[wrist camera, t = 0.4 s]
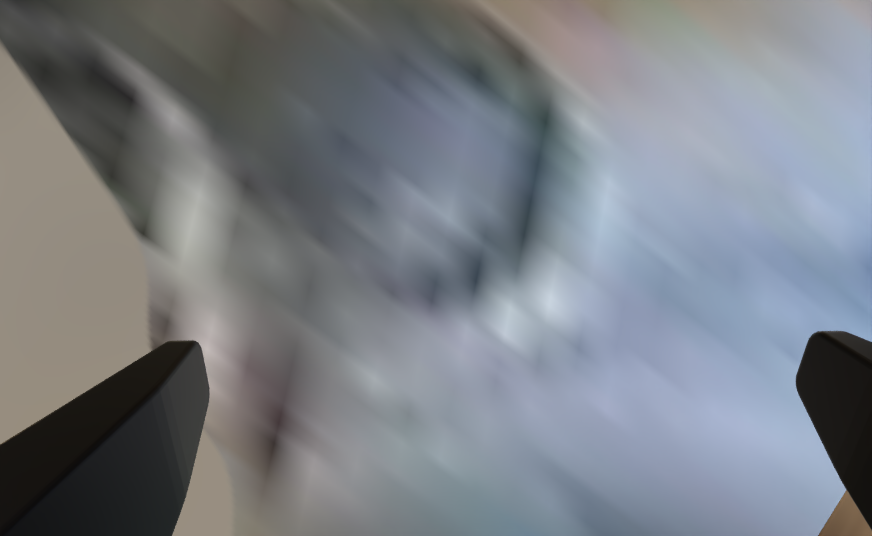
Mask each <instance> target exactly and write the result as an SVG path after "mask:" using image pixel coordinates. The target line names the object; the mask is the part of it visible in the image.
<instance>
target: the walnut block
mask: <svg viewBox="0 0 872 536" xmlns="http://www.w3.org/2000/svg"><path fill="white" fill-rule="evenodd" d="M818 536H872V530H871V529H870V527H869V525H868V524H867V522H866V521H865V519H864V517H863V516H862V514H861V513H860V511H859V509H858V508H857V506H856V504H855V503H854V501H853V500H852V498H851V496H850V495H849V493H848V491H847V490H846V492H845V493H844V495H843V497H842V498H841V500H840V501H839V503H838V505H837V506H836V508H835V509H834V511H833V513H832V514H831V516H830V517H829V519H828V521H827V522H826V524H825V525H824V527H823V529H822V530H821V532H820V533H819V535H818Z"/></svg>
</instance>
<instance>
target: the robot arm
mask: <svg viewBox="0 0 872 536" xmlns="http://www.w3.org/2000/svg"><path fill="white" fill-rule="evenodd" d="M796 388H797V391H798V394H799V396H800V398H801V400H802V402H803V404H804V406H805V408H806V411H807V413H808V415H809V417H810V419H811V421H812V423H813V425H814V427H815V429H816V431H817V433H818V435H819V437H820V439H821V441H822V443H823V445H824V447H825V449H826V451H827V454H828V456H829V458H830V460H831V462H832V464H833V466H834V468H835V470H836V472H837V473H838V475H839V477H840V479H841V481H842V483H843V484H844V486H845V488H846V490H847V491H848V493H849V495H850V496H851V498H852V500H853V501H854V503H855V504H856V506H857V508H858V509H859V511H860V513H861V514H862V516H863V517H864V519H865V521H866V522H867V524H868V525H869V527H870V529H871V530H872V342H870V341H867V340H865V339H863V338H860V337H858V336H855V335H853V334H850V333H848V332H844V331H818V332H816V333H814V334H812V336H811V337H810V338H809V340H808V343H807V345H806V348H805V351H804V354H803V357H802V360H801V363H800V366H799V369H798V372H797V375H796ZM208 403H209V384H208V378H207V373H206V368H205V363H204V358H203V353H202V349H201V347H200V345H199V343H198V342H196V341H168V342H166V343H164V344H163V345H161V346H159V347H158V348H156V349H154V350H153V351H151V352H150V353H148V354H146V355H145V356H143V357H142V358H140V359H138V360H137V361H135V362H133V363H132V364H130V365H129V366H127V367H125V368H124V369H122V370H121V371H119V372H117V373H116V374H114V375H112V376H111V377H109V378H108V379H106V380H104V381H103V382H101V383H99V384H98V385H96V386H94V387H93V388H91V389H90V390H88V391H86V392H85V393H83V394H81V395H80V396H78V397H77V398H75V399H73V400H72V401H70V402H69V403H67V404H65V405H64V406H62V407H61V408H59V409H57V410H55V411H54V412H52V413H51V414H49V415H47V416H46V417H44V418H43V419H41V420H39V421H37V422H36V423H34V424H33V425H31V426H30V427H28V428H26V429H25V430H23V431H22V432H20V433H18V434H17V435H15V436H13V437H11V438H10V439H8V440H7V441H5V442H3V443H2V444H0V536H172V534H173V531H174V529H175V526H176V523H177V521H178V518H179V515H180V512H181V509H182V507H183V504H184V501H185V498H186V494H187V490H188V486H189V483H190V479H191V475H192V470H193V466H194V462H195V458H196V453H197V449H198V445H199V441H200V437H201V433H202V429H203V425H204V420H205V416H206V412H207V408H208Z"/></svg>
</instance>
